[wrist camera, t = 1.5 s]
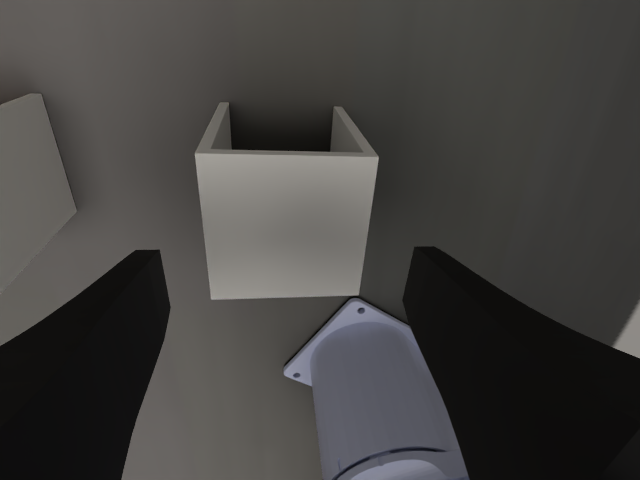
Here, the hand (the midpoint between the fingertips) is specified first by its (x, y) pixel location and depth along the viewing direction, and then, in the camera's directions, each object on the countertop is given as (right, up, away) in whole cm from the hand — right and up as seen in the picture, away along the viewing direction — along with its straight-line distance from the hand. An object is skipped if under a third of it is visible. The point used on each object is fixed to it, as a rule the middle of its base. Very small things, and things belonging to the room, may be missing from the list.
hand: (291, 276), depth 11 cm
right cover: (-1, +5, +8) cm, 9 cm away
